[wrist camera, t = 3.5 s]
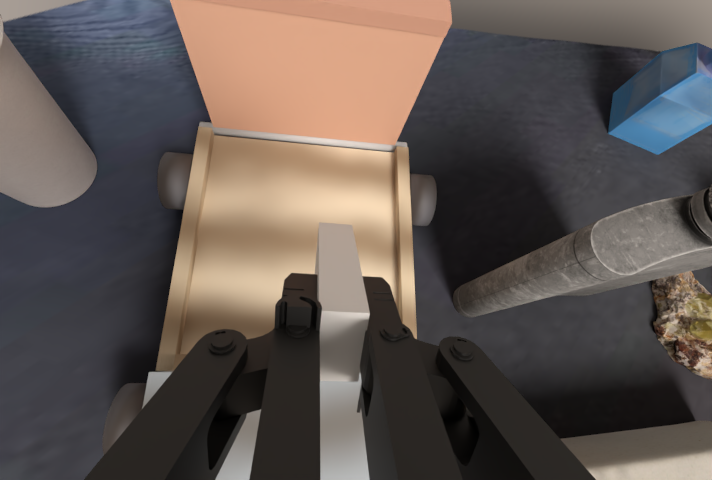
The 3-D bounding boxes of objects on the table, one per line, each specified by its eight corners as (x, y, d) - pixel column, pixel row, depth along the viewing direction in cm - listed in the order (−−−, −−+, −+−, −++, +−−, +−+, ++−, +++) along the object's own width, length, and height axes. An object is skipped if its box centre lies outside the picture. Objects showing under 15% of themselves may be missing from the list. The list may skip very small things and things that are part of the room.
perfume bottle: (657, 154, 41) (795, 75, 30) (607, 133, 41) (726, 45, 30) (660, 113, 43) (789, 25, 32) (613, 93, 43) (725, -3, 32)
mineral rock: (775, 370, 32) (736, 388, 28) (714, 373, 36) (673, 390, 32) (714, 255, 36) (673, 258, 32) (664, 268, 39) (622, 273, 36)
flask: (446, 278, 32) (614, 183, 15) (583, 256, 35) (849, 156, 18) (457, 320, 31) (651, 267, 14) (597, 293, 34) (894, 224, 17)
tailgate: (404, 154, 32) (471, 26, 20) (201, 135, 30) (136, -25, 18) (403, 138, 33) (468, 3, 21) (204, 117, 30) (143, -50, 18)
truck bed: (432, 456, 27) (484, 491, 20) (126, 465, 24) (51, 511, 17) (417, 172, 35) (450, 120, 28) (184, 151, 32) (151, 86, 24)
